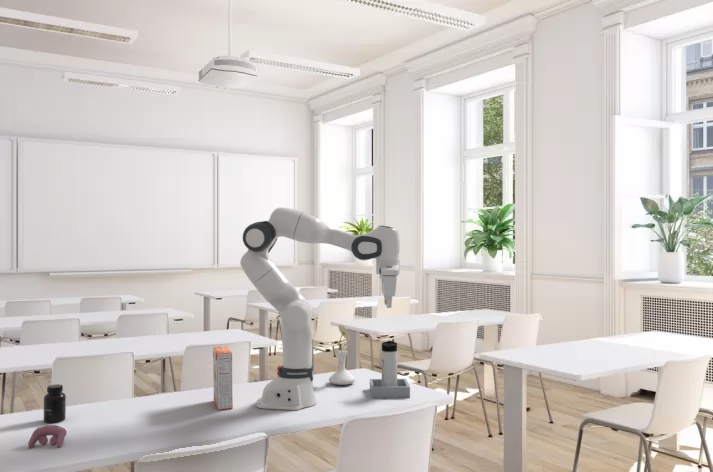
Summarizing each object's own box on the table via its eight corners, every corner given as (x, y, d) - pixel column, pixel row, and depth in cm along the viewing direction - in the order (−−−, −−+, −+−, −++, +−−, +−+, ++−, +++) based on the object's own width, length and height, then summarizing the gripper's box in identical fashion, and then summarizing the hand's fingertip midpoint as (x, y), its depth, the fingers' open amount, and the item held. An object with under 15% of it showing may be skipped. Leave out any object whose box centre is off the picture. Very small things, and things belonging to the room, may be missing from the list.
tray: (371, 397, 242) (371, 387, 242) (369, 388, 256) (369, 379, 256) (409, 397, 243) (409, 387, 243) (405, 388, 257) (405, 378, 257)
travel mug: (397, 389, 252) (397, 340, 252) (396, 394, 246) (396, 343, 246) (382, 389, 253) (382, 340, 253) (381, 393, 246) (381, 343, 246)
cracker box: (212, 400, 238) (212, 346, 238) (228, 399, 240) (228, 345, 240) (216, 410, 225) (216, 353, 225) (232, 409, 227) (232, 352, 227)
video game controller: (65, 449, 189) (69, 425, 192) (59, 447, 185) (64, 423, 188) (32, 449, 189) (37, 426, 192) (25, 447, 185) (30, 423, 188)
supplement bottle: (41, 424, 209) (41, 388, 209) (45, 418, 215) (45, 384, 215) (63, 422, 211) (63, 387, 211) (67, 417, 217) (67, 382, 217)
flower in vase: (357, 386, 260) (357, 327, 260) (330, 387, 259) (330, 327, 259) (353, 379, 273) (353, 322, 273) (327, 380, 272) (327, 323, 272)
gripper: (377, 267, 242) (377, 303, 242) (381, 270, 221) (381, 309, 221) (393, 267, 242) (393, 303, 242) (399, 270, 221) (399, 309, 222)
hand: (387, 306), depth 232 cm, fingers open, 8 cm apart
